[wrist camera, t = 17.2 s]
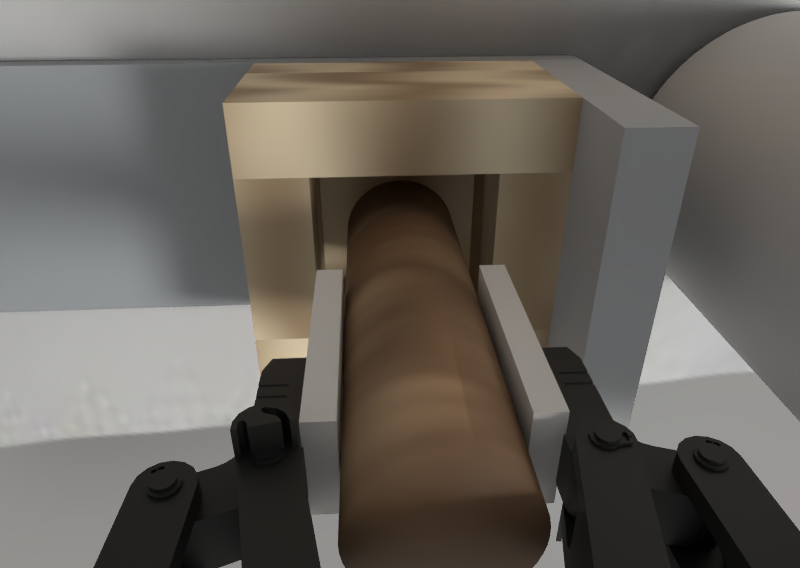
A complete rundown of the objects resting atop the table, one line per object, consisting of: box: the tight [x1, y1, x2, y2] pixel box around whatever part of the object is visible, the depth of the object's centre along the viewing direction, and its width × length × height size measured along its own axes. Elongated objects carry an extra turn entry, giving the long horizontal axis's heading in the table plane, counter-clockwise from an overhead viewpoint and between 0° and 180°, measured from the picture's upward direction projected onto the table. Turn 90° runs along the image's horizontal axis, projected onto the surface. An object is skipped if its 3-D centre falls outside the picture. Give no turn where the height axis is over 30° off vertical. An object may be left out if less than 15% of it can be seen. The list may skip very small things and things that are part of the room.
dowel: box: [338, 180, 551, 568], centre depth 18 cm, size 4×4×14 cm
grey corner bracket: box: [0, 55, 700, 428], centre depth 23 cm, size 29×11×11 cm, turn 90°
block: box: [222, 60, 583, 376], centre depth 24 cm, size 11×11×6 cm
